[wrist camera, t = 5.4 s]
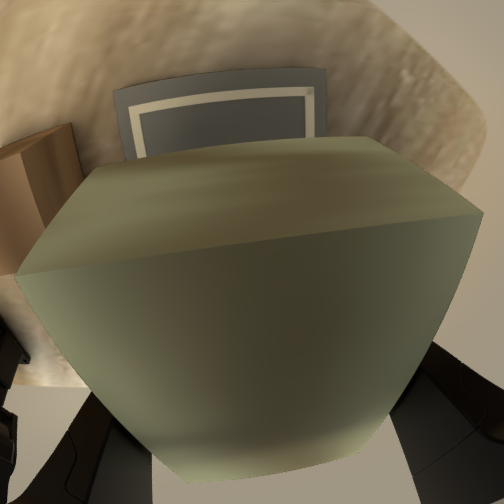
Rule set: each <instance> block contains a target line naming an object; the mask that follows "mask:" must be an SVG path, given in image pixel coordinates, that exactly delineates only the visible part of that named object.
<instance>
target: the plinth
mask: <svg viewBox="0 0 504 504" xmlns="http://www.w3.org/2000/svg"><path fill="white" fill-rule="evenodd" d="M113 97H114V103H115V109H116V115H117V120H118V126H119V131H120V136H121V142H122V147H123V151H124V156H125V161H128V160H133V159H138V158H143V157H148V156H154V155H159V154H165V153H171V152H177V151H183V150H190V149H197V148H204V147H211V146H219V145H227V144H236V143H246V142H256V141H267V140H280V139H295V138H314V137H326V69H322V68H260V69H244V70H231V71H220V72H211V73H203V74H195V75H188V76H181V77H175V78H169V79H164V80H158V81H153V82H148V83H143V84H138V85H134V86H129V87H125V88H121V89H118V90H115V91H113Z"/></svg>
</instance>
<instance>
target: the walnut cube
mask: <svg viewBox="0 0 504 504" xmlns="http://www.w3.org/2000/svg"><path fill="white" fill-rule="evenodd" d="M83 181H84V178H83V174H82V170H81V166H80V163H79V159H78V155H77V150H76V146H75V142H74V137H73V133H72V128H71V123H67V124H64V125H61V126H58V127H55V128H52V129H49V130H46V131H43V132H40V133H38V134H35V135H32V136H29V137H27V138H24V139H22V140H19V141H16V142H14V143H11V144H9V145H7V146H4V147H2V148H0V275H6V274H13V273H16V272H17V271H18V269H19V268H20V266H21V264H22V263H23V261H24V260H25V258H26V257H27V255H28V254H29V252H30V251H31V249H32V248H33V246H34V245H35V243H36V242H37V240H38V239H39V238H40V236H41V235H42V233H43V232H44V231H45V229H46V228H47V226H48V225H49V224H50V222H51V221H52V220H53V218H54V217H55V216H56V214H57V213H58V212H59V211H60V209H61V208H62V207H63V205H64V204H65V203H66V202H67V200H68V199H69V198H70V197H71V195H72V194H73V193H74V192H75V191H76V189H77V188H78V187H79V186H80V185H81V183H82V182H83Z"/></svg>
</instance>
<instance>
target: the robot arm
mask: <svg viewBox="0 0 504 504" xmlns="http://www.w3.org/2000/svg"><path fill="white" fill-rule="evenodd" d="M30 360H31V359H30V357H29V356H28V355H27V353H26V352H25V351H24V350H23V348H22V347H21V346H20V344H19V343H18V342H17V340H16V339H15V338H14V336H13V335H12V334H11V332H10V331H9V329H8V328H7V326H6V325H5V324H4V322H3V321H2V319H1V318H0V504H6V503H7V494H8V483H9V479H10V476H11V475H12V473H13V471H14V468H15V465H16V457H17V418H18V416H17V415H15V414H14V413H11V412H9V411H8V410H6V409H5V408H3V407H2V406H3V404H4V401H5V398H6V394H7V391H8V389H10V388H11V385H12V382H13V379H14V376H15V373H16V370H17V367H18V364H29V363H30ZM389 415H390V417H391V420H392V422H393V425H394V427H395V430H396V433H397V435H398V438H399V441H400V443H401V446H402V449H403V452H404V454H405V457H406V460H407V463H408V466H409V469H410V472H411V474H412V476H413V477H412V478H413V481H414V484H415V486H416V489H417V493H418V496H419V498H420V502H421V504H504V390H503V389H502V388H500V387H498V386H497V385H495V384H493V383H492V382H490V381H488V380H487V379H485V378H484V377H482V376H481V375H479V374H478V373H477V372H475V371H474V370H472V369H470V368H469V367H468V366H467V365H465V364H464V363H461V361H460V360H458V359H457V358H456V357H454V356H453V355H452V354H450V353H449V352H447V351H446V350H445V349H443V348H442V347H440V346H439V345H438V344H436V343H435V342H433V341H432V343H431V344H430V346H429V348H428V350H427V352H426V354H425V356H424V357H423V359H422V361H421V363H420V364H419V366H418V368H417V370H416V371H415V373H414V375H413V376H412V378H411V380H410V381H409V383H408V385H407V386H406V388H405V389H404V391H403V393H402V394H401V396H400V397H399V399H398V400H397V402H396V403H395V405H394V406H393V408H392V409H391V411H390V412H389ZM8 504H153V503H152V453H151V452H150V451H149V450H148V449H147V448H146V447H145V446H144V445H142V444H141V443H140V442H139V441H138V440H137V439H136V438H135V437H134V436H133V435H132V434H131V433H130V432H129V431H128V430H127V429H126V428H125V427H124V426H123V425H122V424H121V423H120V422H119V421H118V420H117V419H116V418H115V417H114V415H113V414H112V413H111V412H110V411H109V410H108V409H107V408H106V407H105V406H104V405H103V403H102V402H101V401H100V400H99V399H98V398H97V397H96V395H95V394H94V393H93V392H92V391H91V393H90V395H89V396H88V398H87V399H86V401H85V402H84V404H83V406H82V407H81V409H80V410H79V412H78V414H77V415H76V417H75V418H74V420H73V422H72V423H71V425H70V426H69V428H68V430H67V431H66V433H65V435H64V436H63V438H62V439H61V441H60V443H59V444H58V445H57V447H56V449H55V450H54V452H53V453H52V455H51V456H50V457H49V459H48V460H47V462H46V463H45V465H44V466H43V467H42V469H41V470H40V471H39V472H38V474H37V475H36V477H35V478H34V479H33V481H32V482H31V483H30V485H29V486H28V487H27V489H26V490H25V491H24V492H23V494H21V496H19V497H18V498H17V499H15V500H14V501H12V502H10V503H8Z"/></svg>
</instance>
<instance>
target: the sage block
mask: <svg viewBox="0 0 504 504" xmlns="http://www.w3.org/2000/svg"><path fill="white" fill-rule="evenodd" d="M483 213H484V212H482V211H481V210H480V209H478V208H477V207H476V206H475V205H473V204H472V203H471V202H469V201H468V200H467V199H465V198H464V197H463V196H461V195H460V194H459V193H457V192H456V191H454V190H453V189H452V188H450V187H449V186H447V185H446V184H444V183H443V182H442V181H440V180H439V179H437V178H436V177H434V176H433V175H431V174H430V173H428V172H427V171H425V170H423V169H422V168H420V167H419V166H417V165H416V164H414V163H412V162H411V161H409V160H408V159H406V158H404V157H403V156H401V155H399V154H398V153H396V152H394V151H393V150H391V149H389V148H387V147H386V146H384V145H382V144H380V143H379V142H377V141H375V140H373V139H372V138H370V137H368V136H345V137H314V138H295V139H280V140H267V141H256V142H246V143H236V144H227V145H219V146H211V147H204V148H197V149H190V150H183V151H177V152H171V153H165V154H159V155H154V156H148V157H143V158H138V159H133V160H128V161H123V162H118V163H114V164H109V165H105V166H100V167H96V168H95V169H94V170H93V171H92V172H91V173H90V174H89V175H88V177H87V178H86V179H85V180H84V181H83V182H82V183H81V185H80V186H79V187H78V188H77V189H76V191H75V192H74V193H73V194H72V195H71V197H70V198H69V199H68V200H67V202H66V203H65V204H64V205H63V207H62V208H61V209H60V211H59V212H58V213H57V214H56V216H55V217H54V218H53V220H52V221H51V222H50V224H49V225H48V226H47V228H46V229H45V231H44V232H43V233H42V235H41V236H40V238H39V239H38V240H37V242H36V243H35V245H34V246H33V248H32V249H31V251H30V252H29V254H28V255H27V257H26V258H25V260H24V261H23V263H22V264H21V266H20V268H19V269H18V271H17V272H16V274H15V276H14V278H15V280H16V282H17V283H18V285H19V287H20V289H21V291H22V292H23V294H24V296H25V298H26V299H27V301H28V303H29V304H30V306H31V308H32V309H33V311H34V312H35V314H36V316H37V317H38V319H39V320H40V322H41V324H42V325H43V327H44V328H45V330H46V331H47V333H48V334H49V336H50V337H51V338H52V340H53V341H54V343H55V344H56V346H57V347H58V348H59V350H60V351H61V353H62V354H63V355H64V357H65V358H66V359H67V361H68V362H69V363H70V365H71V366H72V367H73V369H74V370H75V371H76V372H77V374H78V375H79V376H80V377H81V379H82V380H83V381H84V382H85V384H86V385H87V386H88V387H89V388H90V390H91V391H92V392H93V393H94V394H95V395H96V397H97V398H98V399H99V400H100V401H101V402H102V403H103V405H104V406H105V407H106V408H107V409H108V410H109V411H110V412H111V413H112V414H113V415H114V417H115V418H116V419H117V420H118V421H119V422H120V423H121V424H122V425H123V426H124V427H125V428H126V429H127V430H128V431H129V432H130V433H131V434H132V435H133V436H134V437H135V438H136V439H137V440H138V441H139V442H140V443H141V444H142V445H144V446H145V447H146V448H147V449H148V450H149V451H150V452H151V453H152V454H154V456H156V457H157V458H158V459H159V460H160V461H161V462H163V463H164V464H165V465H166V466H167V467H168V468H169V469H171V470H172V471H173V472H174V473H176V474H177V475H178V476H179V477H180V478H182V479H183V480H184V481H185V482H187V483H201V482H216V481H227V480H236V479H245V478H252V477H259V476H265V475H271V474H277V473H282V472H287V471H292V470H296V469H301V468H306V467H310V466H314V465H319V464H322V463H326V462H330V461H334V460H337V459H340V458H344V457H348V456H351V455H354V454H357V453H360V451H361V450H362V449H363V448H364V446H365V445H366V444H367V442H368V441H369V440H370V438H371V437H372V436H373V434H374V433H375V432H376V430H377V429H378V428H379V426H380V425H381V423H382V422H383V420H384V419H385V418H386V417H387V415H388V414H389V412H390V411H391V409H392V408H393V406H394V405H395V403H396V402H397V400H398V399H399V397H400V396H401V394H402V393H403V391H404V389H405V388H406V386H407V385H408V383H409V381H410V380H411V378H412V376H413V375H414V373H415V371H416V370H417V368H418V366H419V364H420V363H421V361H422V359H423V357H424V356H425V354H426V352H427V350H428V348H429V346H430V344H431V343H432V341H433V339H434V337H435V335H436V333H437V331H438V329H439V327H440V325H441V323H442V320H443V319H444V316H445V314H446V312H447V310H448V308H449V306H450V303H451V301H452V299H453V297H454V294H455V292H456V290H457V287H458V285H459V283H460V280H461V278H462V275H463V273H464V270H465V267H466V264H467V262H468V259H469V257H470V254H471V251H472V248H473V245H474V242H475V239H476V236H477V233H478V230H479V227H480V224H481V220H482V217H483Z"/></svg>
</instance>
